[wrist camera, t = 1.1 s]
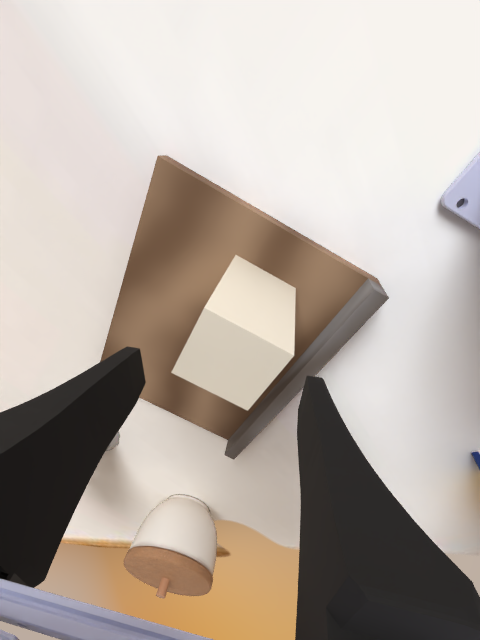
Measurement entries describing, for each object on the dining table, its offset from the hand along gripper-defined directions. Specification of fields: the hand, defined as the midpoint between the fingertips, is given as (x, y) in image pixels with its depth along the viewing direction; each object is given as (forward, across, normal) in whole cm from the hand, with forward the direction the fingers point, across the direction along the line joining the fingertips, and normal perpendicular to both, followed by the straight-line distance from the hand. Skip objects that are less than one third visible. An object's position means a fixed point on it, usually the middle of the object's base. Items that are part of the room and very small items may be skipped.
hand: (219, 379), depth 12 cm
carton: (+8, 0, 0) cm, 8 cm away
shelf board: (+9, +3, +4) cm, 11 cm away
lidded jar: (+10, +6, +34) cm, 36 cm away
